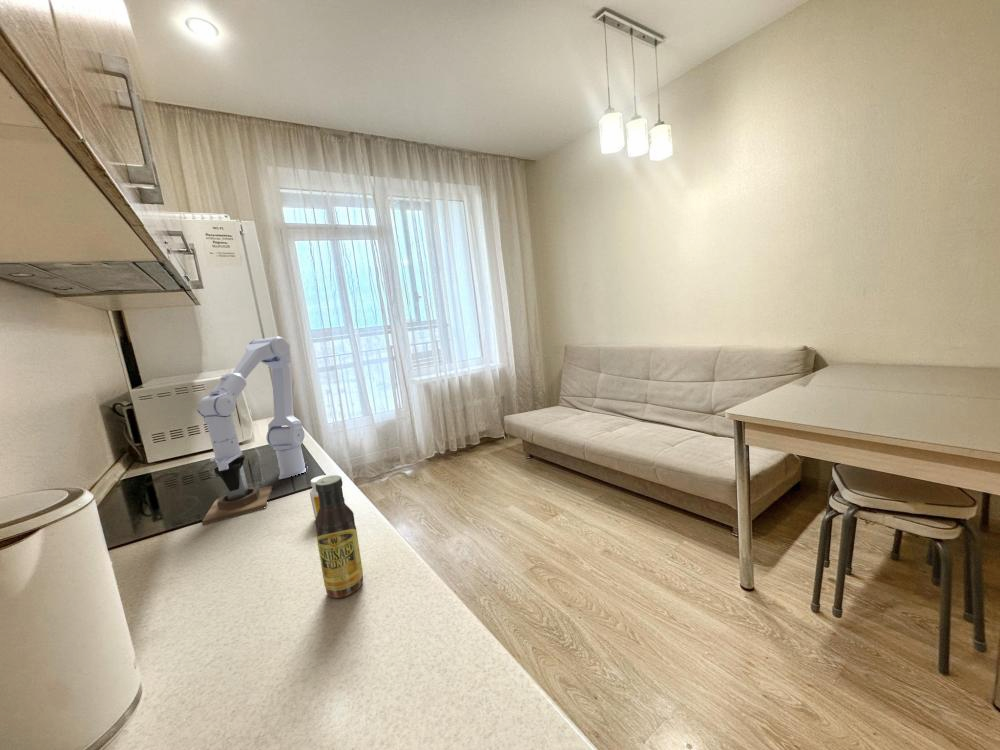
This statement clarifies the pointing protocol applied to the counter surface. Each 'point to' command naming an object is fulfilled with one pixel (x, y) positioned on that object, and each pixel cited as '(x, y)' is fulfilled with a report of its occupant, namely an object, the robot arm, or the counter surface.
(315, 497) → the supplement bottle
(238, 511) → the holder board
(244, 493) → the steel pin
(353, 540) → the sauce bottle
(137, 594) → the counter surface
